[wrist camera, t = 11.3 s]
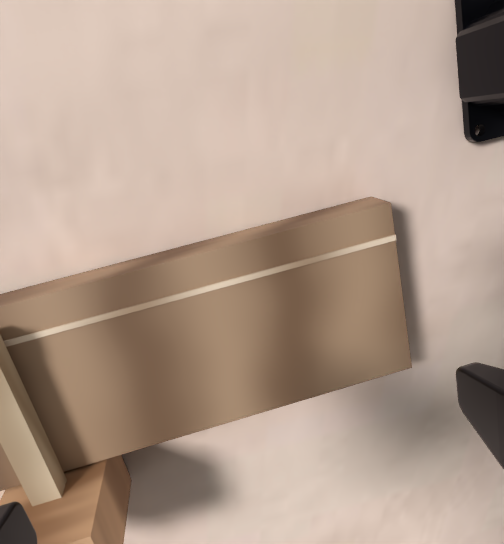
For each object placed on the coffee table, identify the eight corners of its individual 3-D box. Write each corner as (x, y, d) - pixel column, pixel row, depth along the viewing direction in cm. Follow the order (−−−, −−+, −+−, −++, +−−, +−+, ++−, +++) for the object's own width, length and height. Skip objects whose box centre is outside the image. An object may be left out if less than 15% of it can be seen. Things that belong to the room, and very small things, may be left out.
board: (371, 196, 20) (391, 203, 18) (392, 348, 23) (412, 368, 21) (-127, 327, 19) (-162, 350, 17) (-43, 476, 21) (-66, 511, 19)
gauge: (55, 291, 19) (6, 355, 14) (131, 480, 23) (116, 593, 17) (-50, 319, 19) (-145, 397, 13) (43, 507, 22) (-2, 632, 17)
